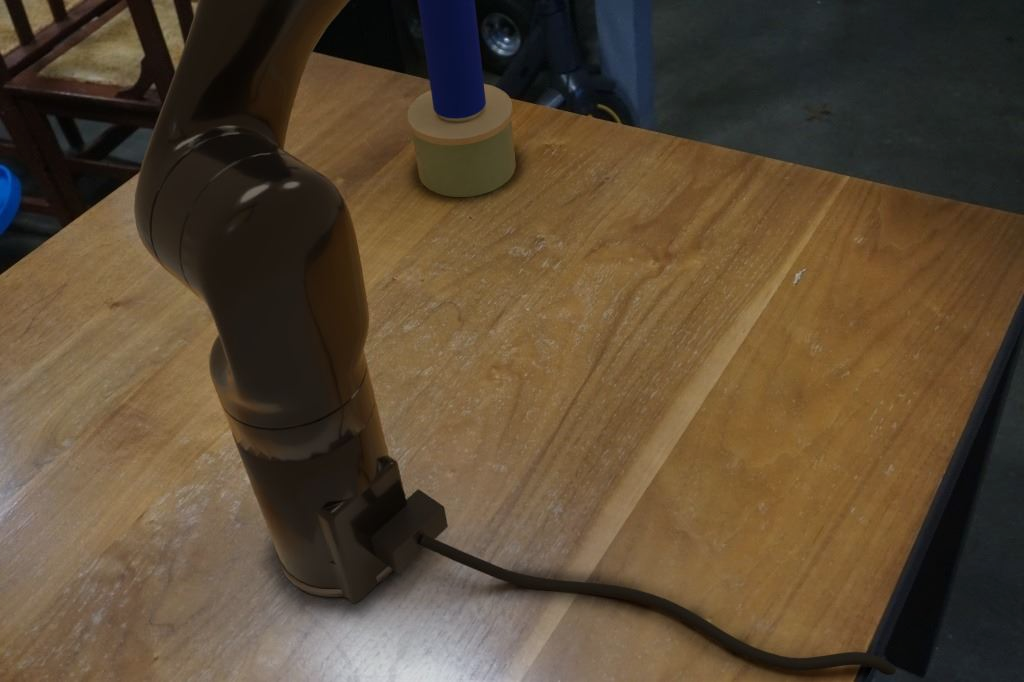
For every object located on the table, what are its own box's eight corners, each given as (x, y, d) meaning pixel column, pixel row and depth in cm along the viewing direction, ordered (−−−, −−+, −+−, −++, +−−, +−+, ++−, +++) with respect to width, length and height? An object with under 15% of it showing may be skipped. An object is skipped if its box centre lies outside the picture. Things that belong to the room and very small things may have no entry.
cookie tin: (538, 161, 113) (533, 101, 108) (470, 211, 108) (462, 150, 103) (464, 130, 118) (457, 71, 114) (396, 176, 113) (385, 117, 108)
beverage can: (490, 96, 109) (474, -50, 99) (481, 124, 106) (464, -24, 96) (439, 96, 110) (419, -49, 100) (429, 124, 107) (407, -24, 96)
